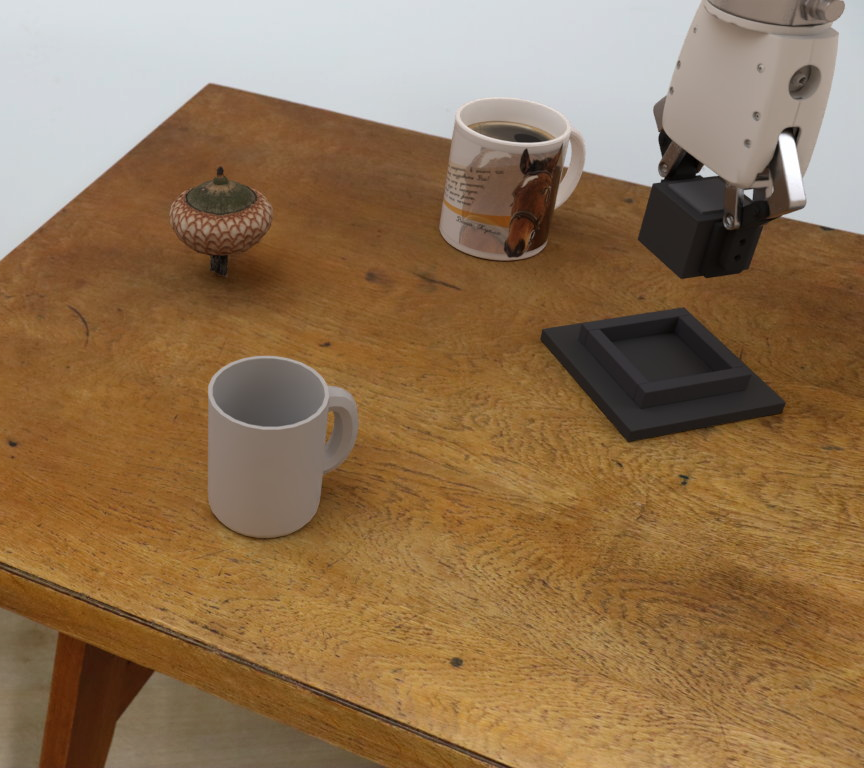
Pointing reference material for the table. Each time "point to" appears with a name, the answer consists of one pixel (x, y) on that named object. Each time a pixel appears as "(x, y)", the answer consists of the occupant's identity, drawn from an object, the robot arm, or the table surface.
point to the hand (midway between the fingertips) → (694, 248)
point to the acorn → (220, 219)
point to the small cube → (685, 222)
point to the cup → (273, 443)
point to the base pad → (660, 373)
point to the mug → (507, 176)
